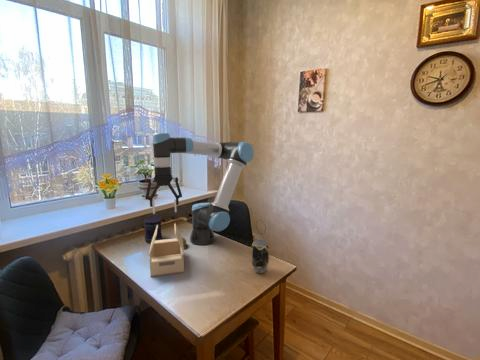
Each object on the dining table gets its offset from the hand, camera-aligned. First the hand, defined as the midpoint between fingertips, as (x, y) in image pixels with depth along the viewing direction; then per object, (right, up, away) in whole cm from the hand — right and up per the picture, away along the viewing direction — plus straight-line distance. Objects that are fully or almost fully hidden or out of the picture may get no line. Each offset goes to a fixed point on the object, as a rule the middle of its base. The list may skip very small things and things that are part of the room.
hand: (165, 212), depth 120 cm
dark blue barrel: (-16, -23, +32) cm, 42 cm away
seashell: (0, -25, +21) cm, 33 cm away
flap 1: (-5, -13, +1) cm, 15 cm away
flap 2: (+6, -13, +4) cm, 15 cm away
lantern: (+46, -28, +1) cm, 54 cm away
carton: (0, -27, +4) cm, 28 cm away
